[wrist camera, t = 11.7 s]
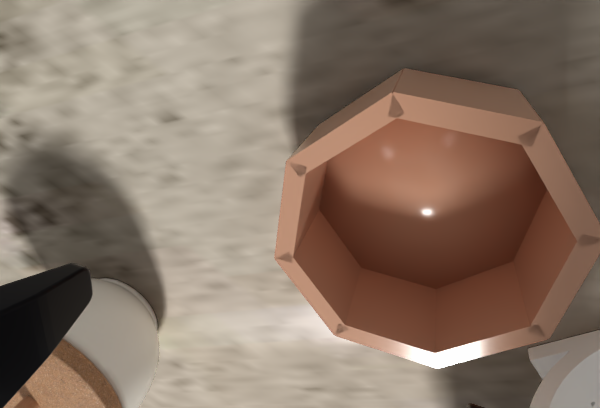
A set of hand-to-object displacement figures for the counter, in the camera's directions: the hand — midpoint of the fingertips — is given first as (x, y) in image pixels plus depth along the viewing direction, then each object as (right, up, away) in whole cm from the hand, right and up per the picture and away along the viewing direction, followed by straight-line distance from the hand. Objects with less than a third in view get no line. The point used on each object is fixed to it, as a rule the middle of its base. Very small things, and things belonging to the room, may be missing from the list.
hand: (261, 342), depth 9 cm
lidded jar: (-12, -5, +22) cm, 25 cm away
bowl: (+7, +4, +11) cm, 13 cm away
